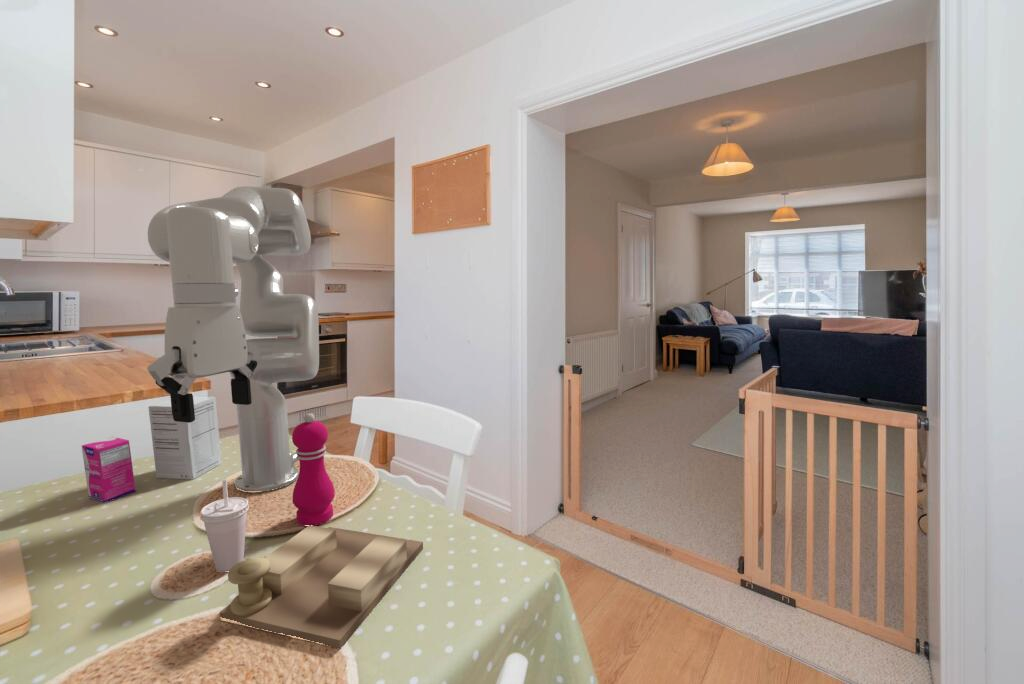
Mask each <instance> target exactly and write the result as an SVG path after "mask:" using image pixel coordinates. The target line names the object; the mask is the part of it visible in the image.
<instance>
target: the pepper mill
mask: <svg viewBox="0 0 1024 684" xmlns="http://www.w3.org/2000/svg"><path fill="white" fill-rule="evenodd" d="M328 438H329V432H328V429H327V426H326V425H325V424H324V423H322V422H320V421H316V420H315V415H314V414H313V413H306V414H304V417H303V422H301V423H300V424H297V425H296V426H295V428H294V429H293V432H292V437H291V440H292V443H293V445H294V446H295V447H296V448H297V449H296V450H295V453H297V455H296V457H297V458H298V459H299V460H298V461H299V470H298V471H299V476H298V478H297V479H296V481H295V485H294V487H293V491H292V505H294V506H295V508H297V510H296V512H295V514H296V522H297V524H298V525H300V526H303V525H315V526H319V525H323V524H324V522H325V523H326V521H327V522H328V521H330V520H331V519H332V518H333V516H334V506H333V504H332V501H333V500H334V499H335V495H336V492H335V487H334V484H333V481H332V479H331V478H330V476H329V473H328V472H327V470H326V465H325V456H326V454H327V451H326V448H327V447H326V445H325V444H326V442H327V441H328ZM331 517H332V518H331ZM330 518H331V519H330ZM329 519H330V520H329Z"/></svg>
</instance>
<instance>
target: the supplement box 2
mask: <svg viewBox="0 0 1024 684" xmlns="http://www.w3.org/2000/svg"><path fill="white" fill-rule="evenodd" d="M216 398H217V397H215V396H200V395H199V396H198V395H196V396H195V395H194V396H193V402H194V413H195V420H194V421H193V422H190V423H187V422H177V421H174V419H173V415H172V407H171V398H170V399H168V400H165V401H161V402H157V403H154V404H151V405H149V406H148V407H147V408H148V414H149V423H150V434H151V442H152V449H153V459H154V466H155V467H154V468H155V474H156V478H157V479H169V480H170V479H174V480H192V481H193V480H195V479H196V478H198V477H200V476H202V475H203V474H206V473H207V472H209V471H211V470H213V469H215V468H217V467H218V466H221V465H222V464H223V463H222V454H221V451H222V450H221V442H220V431H219V422H218V413H217V412H218V410H217V399H216Z"/></svg>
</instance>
